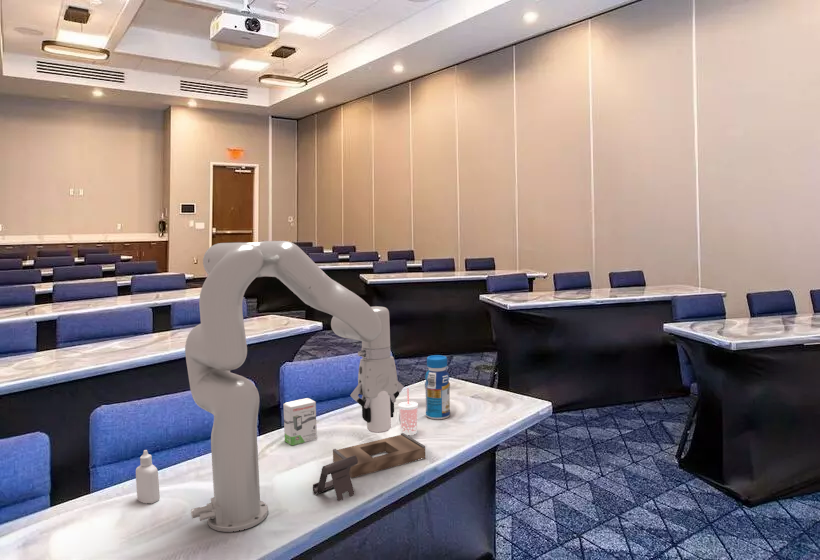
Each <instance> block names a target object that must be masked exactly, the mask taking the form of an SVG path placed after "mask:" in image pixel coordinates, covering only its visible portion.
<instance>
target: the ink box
mask: <svg viewBox="0 0 820 560" xmlns="http://www.w3.org/2000/svg"><path fill="white" fill-rule="evenodd" d="M316 403H317V401H315V400H313V399H311V398H309V397H306V398H299V399H296V400H291V401H288V402H287V401H286V402H285V403H283V426H284V427H283V428H284V442H286V443H287V444H288V445H290V446H296V445H300V444H303V443H306V442H311V441H315V440H317V439H318V434H317V432H318V431H317V404H316Z"/></svg>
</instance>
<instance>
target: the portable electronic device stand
mask: <svg viewBox="0 0 820 560" xmlns="http://www.w3.org/2000/svg"><path fill="white" fill-rule="evenodd" d="M357 463H358V459H357V457H356V456H355V455H354V456H351V457H348V458H345V459H343V460H340V461H337V462H332V463H329V464H325V465H323V466H322V468H321V471H320V476H319V479H318V482H315V483H313V484H312V492H313V494H314V495H318V494H321V493H323V492H326V491H329V490H331V489H333V488H334V493H335V495H336V500H337V501H338V502H340V501H343V500H344V496H343V494H345V493H348V495H349V497H352V496H354V495H355V490H354V487H353V482H352V478H351V477H350V474H349V472H350V468H351V466H353V465H356V464H357ZM328 475H330V476H331V480H330V481H329V480H328V481H327V479H328Z"/></svg>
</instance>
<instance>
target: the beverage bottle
mask: <svg viewBox="0 0 820 560" xmlns="http://www.w3.org/2000/svg"><path fill="white" fill-rule="evenodd" d="M426 366H427V368H428V369H427V371H426V373H425V375H424V380H425V382H424V389H425V416H426V417H427V418H428V419H431V420H444V419H447V418H449V417H451V416H450V415H451V409H450V407H451V406H450V405H451V404H450V403H451V400H450V392H451V391H450V388H451V383H450V381H449V380H450V378H451V377H450V374H449V372H448V370H447V369H446V368H447V367H448V357H447V356H446V355H441V354H434V355H428V356H427V357H426Z"/></svg>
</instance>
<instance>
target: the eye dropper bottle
mask: <svg viewBox="0 0 820 560" xmlns="http://www.w3.org/2000/svg"><path fill="white" fill-rule="evenodd" d="M152 458H153V457H152V454H149V452H148V450H147V449H144V450H143V453H142V455H141V456H140V457H139V461H140V462H139V463H140V465H138V466H137V467H136V469H135V482H136V485H135V486H136V496H137V497H136V498H137V501H139V502H140V503H142V502H143V504H147V503H151V504H155V503H156V502H158V501H160V497H161V496H160V482H159V481H160V479H159V472H158V471H159V470H158V468H157V467H156V465H154V464H153V460H152Z"/></svg>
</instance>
